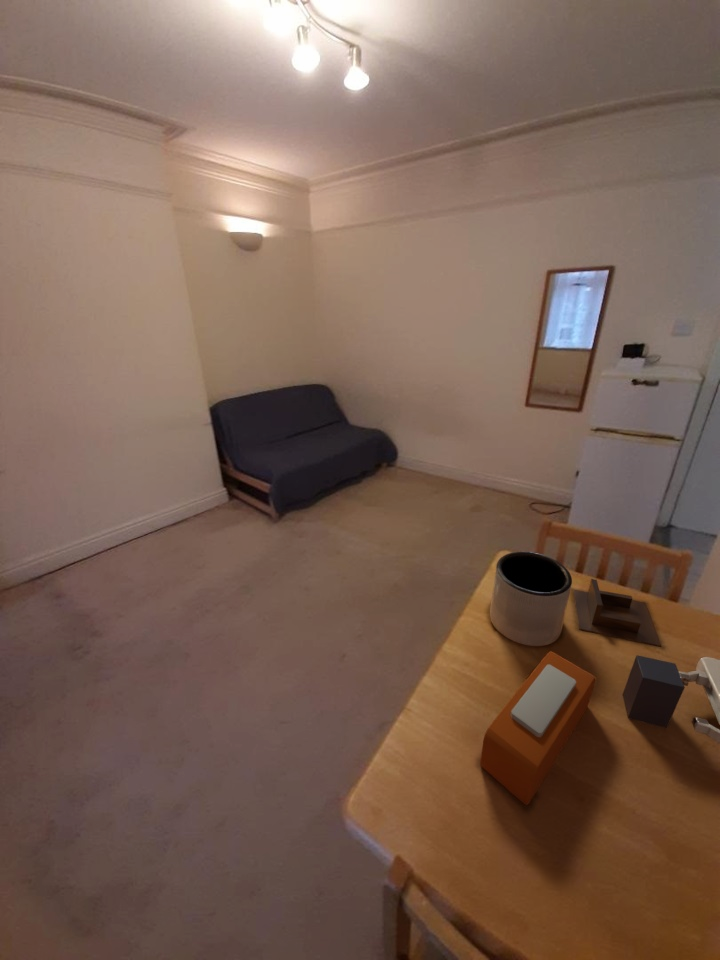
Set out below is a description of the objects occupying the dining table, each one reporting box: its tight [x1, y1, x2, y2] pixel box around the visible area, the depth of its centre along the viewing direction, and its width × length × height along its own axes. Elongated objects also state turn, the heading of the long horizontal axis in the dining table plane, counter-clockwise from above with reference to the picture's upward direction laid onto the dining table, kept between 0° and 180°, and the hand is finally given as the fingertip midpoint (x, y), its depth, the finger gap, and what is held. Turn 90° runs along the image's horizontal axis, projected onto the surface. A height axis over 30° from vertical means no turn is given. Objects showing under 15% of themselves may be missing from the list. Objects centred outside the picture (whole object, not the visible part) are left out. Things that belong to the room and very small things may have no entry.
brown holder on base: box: [572, 578, 662, 648], centre depth 95 cm, size 16×14×8 cm
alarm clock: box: [480, 651, 597, 806], centre depth 70 cm, size 24×8×11 cm, turn 132°
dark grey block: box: [622, 654, 685, 729], centre depth 73 cm, size 6×5×12 cm
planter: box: [489, 551, 573, 647], centre depth 94 cm, size 16×16×16 cm
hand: (684, 698), depth 71 cm, fingers open, 8 cm apart
